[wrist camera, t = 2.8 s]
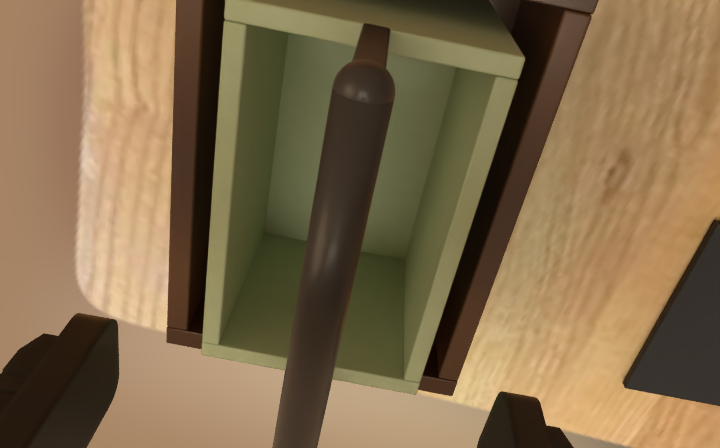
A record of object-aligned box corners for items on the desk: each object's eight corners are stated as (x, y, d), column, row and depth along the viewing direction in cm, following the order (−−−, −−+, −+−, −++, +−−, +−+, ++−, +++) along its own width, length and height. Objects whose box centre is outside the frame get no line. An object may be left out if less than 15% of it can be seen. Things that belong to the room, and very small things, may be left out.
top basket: (284, -54, 22) (153, 26, 11) (492, -10, 22) (577, 112, 11) (251, 240, 28) (149, 481, 17) (413, 271, 28) (415, 529, 17)
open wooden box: (239, -112, 21) (178, -107, 16) (554, -45, 22) (604, -16, 16) (212, 252, 29) (165, 342, 24) (444, 296, 30) (452, 396, 24)
